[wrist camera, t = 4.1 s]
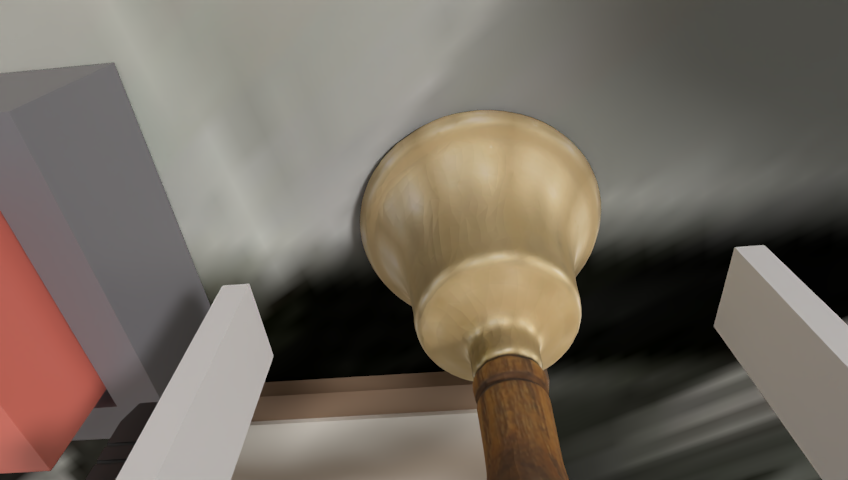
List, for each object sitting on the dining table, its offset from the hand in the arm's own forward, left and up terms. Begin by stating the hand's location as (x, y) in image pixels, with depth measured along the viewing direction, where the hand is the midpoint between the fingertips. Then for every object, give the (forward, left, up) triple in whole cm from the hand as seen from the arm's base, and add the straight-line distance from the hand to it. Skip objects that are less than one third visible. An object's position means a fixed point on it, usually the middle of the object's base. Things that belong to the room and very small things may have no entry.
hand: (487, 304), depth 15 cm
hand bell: (0, 0, -5) cm, 5 cm away
